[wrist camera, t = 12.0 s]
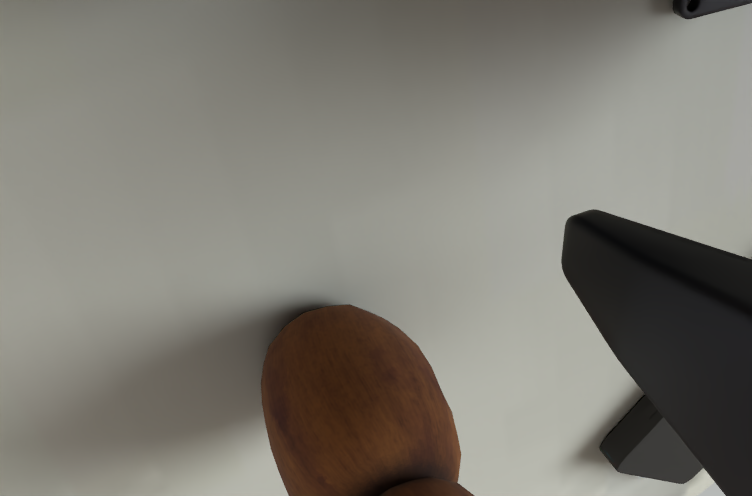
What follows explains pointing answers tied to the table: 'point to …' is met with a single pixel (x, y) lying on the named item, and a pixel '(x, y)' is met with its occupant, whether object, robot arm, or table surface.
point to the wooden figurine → (357, 410)
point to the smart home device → (649, 447)
